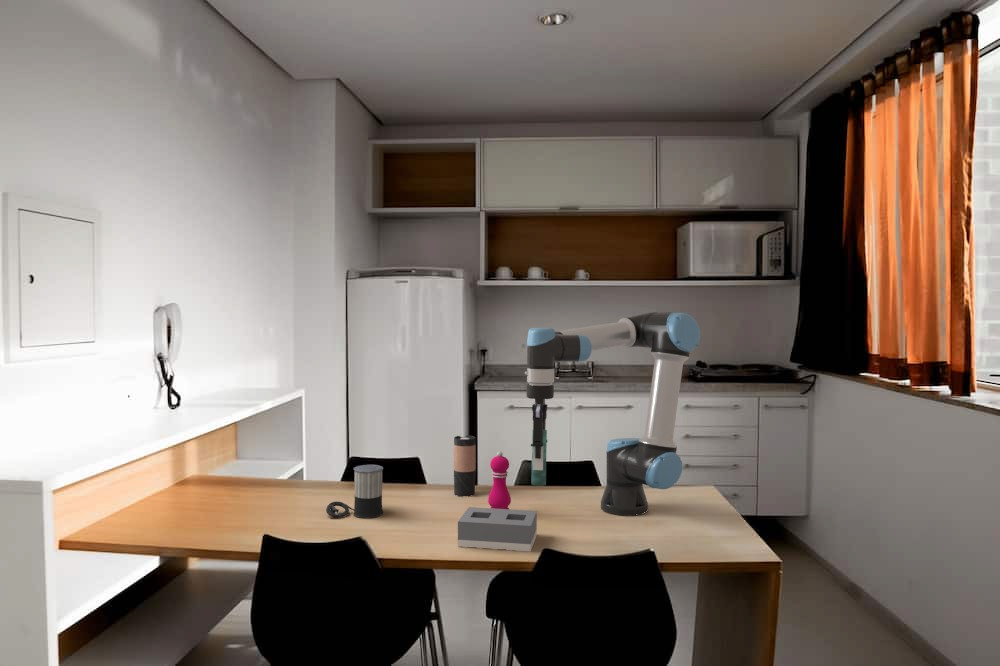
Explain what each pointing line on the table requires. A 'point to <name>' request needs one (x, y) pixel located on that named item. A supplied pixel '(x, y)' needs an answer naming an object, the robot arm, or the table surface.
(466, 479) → the travel mug
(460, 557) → the table surface
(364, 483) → the milk frother
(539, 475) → the pin
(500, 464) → the pepper mill
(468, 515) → the hole block
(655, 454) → the robot arm
